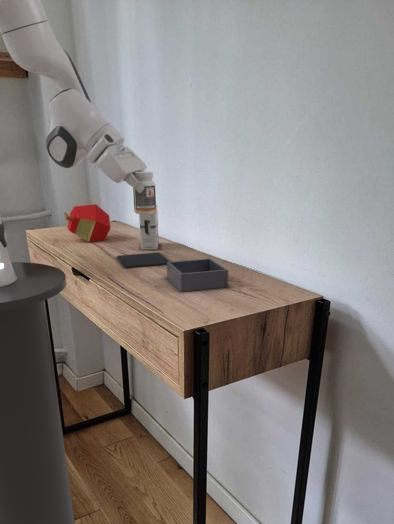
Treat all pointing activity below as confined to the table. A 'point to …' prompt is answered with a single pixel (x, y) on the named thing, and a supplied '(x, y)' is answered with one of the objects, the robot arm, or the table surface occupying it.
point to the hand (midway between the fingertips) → (146, 189)
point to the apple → (89, 222)
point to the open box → (197, 274)
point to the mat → (142, 260)
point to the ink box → (149, 231)
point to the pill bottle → (145, 194)
